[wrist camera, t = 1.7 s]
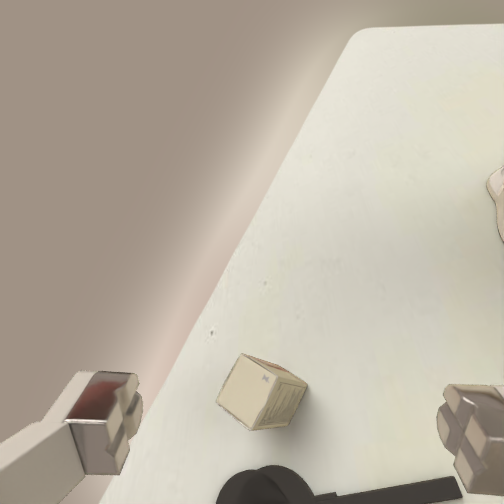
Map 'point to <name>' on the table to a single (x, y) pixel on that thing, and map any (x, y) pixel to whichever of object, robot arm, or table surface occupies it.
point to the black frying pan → (302, 499)
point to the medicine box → (260, 393)
